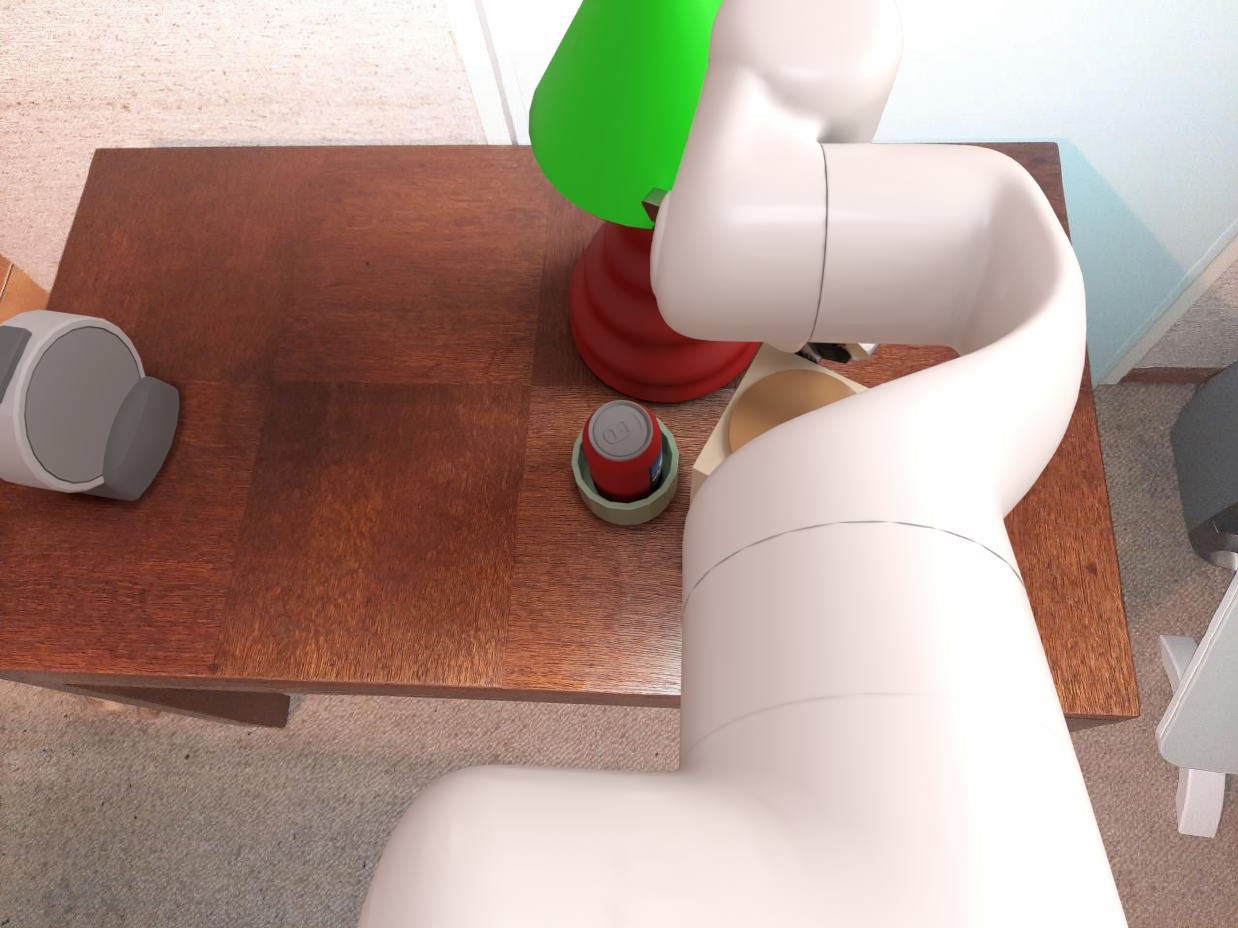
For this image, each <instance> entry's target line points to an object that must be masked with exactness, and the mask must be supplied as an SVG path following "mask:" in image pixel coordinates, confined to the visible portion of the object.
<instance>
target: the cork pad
mask: <svg viewBox="0 0 1238 928" xmlns="http://www.w3.org/2000/svg"><path fill="white" fill-rule="evenodd" d="M854 394H857V393H856V392H855V391H854V390H853V389H852V388H851V387H849V386H848V385H847V384H845V383H844V382H842V381H841V380H839V379H837V378H835V377H833V376H831V375H828V374H826V373H822V372H819V371H814V370H808V369H792V370H785V371H780V372H776V373H774V374H771V375H768V376H766V377H764V378H762V379H761V380H759V381H757V382H756V383H754V384H753V385H752V386H751V387H750V388H749V389H747V391H746V392H745V393H744V394H743V395H742V396H741V398H740V399H739V401H738V402H737V404H736V406H735V408H734V410H733V413H732V416H731V419H730V425H729V447H730V451H731V454H732V453H734V452H735V451H737V450H738V449H739V448H741V447H742V446H744V445H745V444H747V443H748V442H749V441H751V440H752V439H754V438H756V437H758V436H759V435H761V434H763V433H765V432H767V431H769V430H770V429H772V428H774V427H776V426H778V425H780V424H782V423H784V422H787V421H789V420H791V419H794V418H796V417H799V416H801V415H803V414H806V413H808V412H811V411H813V410H816V409H819V408H821V407H824V406H826V405H829V404H831V403H834V402H836V401H839V400H841V399H844V398H846V397H848V396H851V395H854Z"/></svg>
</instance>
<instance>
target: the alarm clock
mask: <svg viewBox="0 0 1238 928" xmlns="http://www.w3.org/2000/svg"><path fill="white" fill-rule="evenodd" d="M179 394H180V393H179V390H178V389H177V388H176V386H173V385H171V384H169V383H168V382H165V381H163V380H160V379H159V378H156V377H154V376H149V375H146V373H145V370H144V365H143V362H142V359H141V356H140V355H139V353H138V351H137V349H136V347H135V345H134V344H133V342H132V340H131V339H130V337H128V336H127V334H126V333H125V332H124V331H123V330H122V329H121V328H120V327H119V326H117V325H115V324H114V323H112V322H110V321H109V320H107V319H105V318H101V317H96V316H90V315H83V314H75V313H68V312H62V311H54V310H47V309H35V310H29V311H23V312H19V313H18V314H16V315H14V316H11V317H10V318H8V319H6V320H4V321H2V322H1V323H0V479H2V480H3V481H5V482H9V483H13V484H16V485H21V486H25V487H26V486H27V487H31V488H38V489H42V490H43V489H44V490H49V491H55V492H63V493H68V494H70V493H78V494H85V495H90V496H97V497H103V498H107V499H109V498H110V499H116V500H122V501H126V502H133V501H137V500H139V498H140V497H141V496H142V495H143V494H144V493H145V491H146V490H147V489H148V488H149V487H150V486H151V484H152V482H153V481H154V479H155V478H156V476H157V475H158V473H159V472H160V470H161V468H162V466H163V464H164V462H165V460H166V458H167V456H168V454H169V452H170V449H171V447H172V444H173V441H174V437H175V433H176V430H177V427H178V420H179V411H180V395H179Z"/></svg>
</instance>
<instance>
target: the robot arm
mask: <svg viewBox="0 0 1238 928" xmlns="http://www.w3.org/2000/svg"><path fill="white" fill-rule="evenodd" d="M898 7H899V6H898V4H897V2H896V0H723V1H722V3H721V4H720V6H719V9H718V11H717V13H716V16H715V18H714V21H713V24H712V29H711V35H710V43H709V51H708V64H707V69H706V72H705V76H704V80H703V84H702V88H701V92H700V96H699V100H698V104H697V108H696V111H695V115H694V118H693V122H692V125H691V129H690V132H689V135H688V137H687V141H686V146H685V149H684V153H683V156H682V159H681V162H680V166H679V169H678V172H677V175H676V179H675V182H674V185H673V188H672V190H671V191H669V192H668V191H665V190H662V189H659V188H656V187H654V188H652V190H651V191H650V192H649V193H648V194H647V195H646V197H645V198H644V199H643V200H642V201H641V203H642V206H643V207H644V209H645V211H646V213H647V215H648V217H649V218H650V220H651V221H653V222H654V223H655V225H654V226H653V228H652V229H653V231H654V235H653V241H652V246H651V255H650V279H651V286H652V290H653V293H654V295H655V296H656V299H657V304H658V308H659V311H660V313H661V315H662V317H663V319H664V321H665V322H666V323H667V324H668V326H669V327H671V328H672V329H673V330H674V331H676V332H678V333H680V334H682V335H684V336H687V337H690V338H694V339H700V340H709V341H737V342H760V343H764V342H766V343H768V344H769V345H771V346H773V347H774V348H776V349H778V350H781V351H783V352H788V353H794V354H796V355H798V356H800V357H803V358H805V359H807V360H809V361H811V362H813V363H815V364H818V365H820V363H821V361H822V360H827V361H831V362H835V363H839V364H845V365H846V364H848V363H849V361H850V360H853V361H854V362H855V361H866V360H870V359H871V358H872V357H873V355H874V354H875V353H876V351H877V350H878V349H879V348H880V346H881V345H908V346H910V345H913V346H942V347H949V348H951V349H952V350H954V351H955V352H956V353H957V354H958V355H959V357H957V358H953V359H950V360H947V361H944V362H942V363H939V364H936V365H933V366H931V367H927V368H924V369H922V370H919V371H916V372H915V371H914V372H913V373H910V374H907V375H905V376H901V377H898V378H896V379H895V378H894V379H893V380H889V381H887V382H883V383H881V384H878V385H875V386H873V387H871V388H869V389H868V390H865V391H863V392H860V393H857V394H854V395H851V396H848V397H846V398H844V399H841V400H839V401H836V402H834V403H831V404H829V405H826V406H824V407H821V408H819V409H816V410H813V411H811V412H808V413H806V414H803V415H801V416H799V417H796V418H794V419H791V420H789V421H787V422H784V423H782V424H780V425H778V426H776V427H774V428H772V429H770V430H769V431H767V432H765V433H763V434H761V435H759V436H758V437H756V438H754V439H752V440H751V441H749V442H748V443H747V444H745V445H744V446H742V447H741V448H739V449H738V450H737V451H735V452H734V453H732V454H731V455H730V456H728V457H727V458H726V459H725V460H723V461H722V462H721V463H720V464H719V465H718V466H717V467H716V468H715V469H714V470H713V471H712V473H711V474H710V475H709V476H708V477H707V478H706V480H705V481H704V483H703V484H702V486H701V487H700V489H699V490H698V492H697V493H696V495H695V496H694V499H693V501H692V504H691V506H690V505H689V509H688V512H687V514H686V517H685V523H684V529H683V536H682V549H681V551H682V557H681V559H682V560H681V561H682V565H681V566H682V568H681V569H682V571H681V573H682V577H681V578H682V602H681V603H682V604H681V605H682V607H681V608H682V609H681V656H680V657H681V659H680V661H681V662H680V663H681V664H680V701H679V702H680V703H679V704H680V705H679V706H680V708H679V744H678V745H679V753H678V768H677V769H675V770H672V771H638V770H637V771H635V770H620V769H619V770H618V769H600V768H599V769H598V768H597V769H596V768H581V767H579V768H578V767H561V766H544V765H543V766H542V765H524V764H496V763H495V764H494V763H489V764H488V763H487V764H477V765H470V766H466V767H463V768H460V769H457V770H453V771H451V772H448V773H445V774H444V775H442V776H440V777H439V778H437V779H436V780H434V781H432V782H431V783H430V784H428V785H426V786H425V787H424V788H423V789H422V791H421V792H420V793H419V794H418V795H417V797H415V799H414V800H412V802H411V803H410V804H409V806H408V807H407V809H406V811H405V812H404V813H403V815H402V817H401V818H400V819H399V821H398V823H397V825H396V826H395V828H394V830H393V832H392V833H391V835H390V837H389V838H388V841H387V842H386V844H385V846H384V848H383V851H382V854H381V857H380V859H379V862H378V864H377V867H376V869H375V872H374V874H373V877H372V880H371V883H370V884H369V888H368V890H367V893H366V896H365V899H364V901H363V905H362V908H361V912H360V915H359V919H358V922H357V926H356V928H1129V925H1128V921H1127V918H1126V915H1125V911H1124V908H1123V905H1122V901H1121V899H1120V896H1119V892H1118V888H1117V885H1116V882H1115V879H1114V875H1113V872H1112V868H1111V865H1110V861H1109V857H1108V855H1107V851H1106V849H1105V845H1104V842H1103V838H1102V836H1101V835H1102V834H1101V832H1100V829H1099V827H1098V823H1097V819H1096V816H1095V812H1094V809H1093V805H1092V803H1091V799H1090V796H1089V792H1088V789H1087V786H1086V782H1085V780H1084V776H1083V772H1082V770H1081V766H1080V762H1079V760H1078V758H1077V755H1076V751H1075V748H1074V745H1073V741H1072V737H1071V735H1070V732H1069V728H1068V725H1067V721H1066V718H1065V715H1064V712H1063V708H1062V705H1061V702H1060V698H1059V695H1058V692H1057V689H1056V685H1055V682H1054V679H1053V676H1052V672H1051V669H1050V666H1049V662H1048V659H1047V656H1046V653H1045V650H1044V645H1043V643H1042V640H1041V636H1040V633H1039V630H1038V627H1037V623H1036V619H1035V616H1034V613H1033V610H1032V607H1031V604H1030V600H1029V596H1028V593H1027V589H1026V586H1025V583H1024V581H1023V577H1022V574H1021V571H1020V568H1019V565H1018V561H1017V559H1016V556H1015V553H1014V550H1013V547H1012V544H1011V541H1010V537H1009V534H1008V531H1007V528H1006V525H1005V520H1004V519H1005V518H1006V517H1007V516H1008V515H1009V513H1010V512H1011V511H1012V510H1013V509H1015V507H1016V506H1017V505H1018V503H1020V502H1021V500H1022V499H1023V498H1024V497H1025V496H1026V495H1027V494H1028V492H1029V491H1030V489H1031V488H1032V487H1033V486H1034V484H1035V483H1036V482H1037V480H1038V478H1039V477H1040V475H1041V474H1042V473H1043V471H1044V470H1045V469H1046V467H1047V465H1048V464H1049V462H1050V461H1051V460H1052V458H1053V456H1055V455H1054V454H1055V453H1056V451H1057V449H1058V447H1059V446H1060V444H1061V442H1062V439H1063V438H1064V436H1065V434H1066V431H1067V429H1068V426H1069V424H1070V421H1071V419H1072V415H1073V413H1074V410H1075V406H1076V404H1077V401H1078V399H1079V394H1080V389H1081V384H1082V383H1081V382H1082V379H1083V373H1084V368H1085V359H1086V347H1087V307H1086V306H1087V304H1086V303H1087V300H1086V289H1085V282H1084V277H1083V272H1082V270H1081V267H1080V263H1079V260H1078V257H1077V255H1076V253H1075V251H1074V249H1073V246H1072V243H1071V241H1070V239H1069V237H1068V236H1067V234H1066V232H1065V230H1064V228H1063V225H1062V224H1061V223H1060V220H1059V218H1058V217H1057V215H1056V213H1055V211H1054V209H1053V207H1052V205H1051V202H1050V201H1049V200H1048V198H1047V196H1046V194H1045V193H1044V191H1043V190H1042V189H1041V187H1040V185H1039V183H1038V182H1037V181H1036V179H1034V177H1033V176H1032V175H1031V174H1030V172H1029V171H1027V169H1026V168H1024V167H1023V166H1022V165H1021V163H1019V162H1017V161H1016V160H1015V159H1013V158H1012V157H1010V156H1008V155H1007V154H1005V153H1002V152H1000V151H998V150H995V149H991V148H988V147H983V146H979V145H978V146H977V145H969V144H949V143H948V144H946V143H945V144H944V143H918V142H917V143H916V142H915V143H914V142H892V143H891V142H889V143H888V142H884V143H883V142H882V143H881V142H880V143H879V142H877V143H875V142H874V143H873V141H874V138H875V135H876V133H877V130H878V127H879V125H880V122H881V119H882V117H883V114H884V111H885V109H886V106H887V103H888V101H889V98H890V95H891V94H892V90H893V87H894V84H895V82H896V79H897V76H898V73H899V69H900V66H901V62H902V58H903V52H904V30H903V21H902V16H901V14H900V10H899V8H898Z"/></svg>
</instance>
